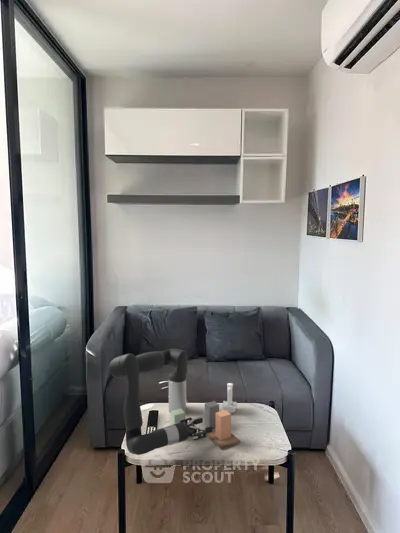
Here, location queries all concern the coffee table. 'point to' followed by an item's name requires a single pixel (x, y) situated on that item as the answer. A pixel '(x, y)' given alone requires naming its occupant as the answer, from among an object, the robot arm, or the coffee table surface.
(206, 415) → the charcoal brick
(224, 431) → the terracotta brick
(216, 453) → the coffee table surface
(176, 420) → the sage brick
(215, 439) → the walnut board
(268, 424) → the coffee table surface
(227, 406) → the figurine
